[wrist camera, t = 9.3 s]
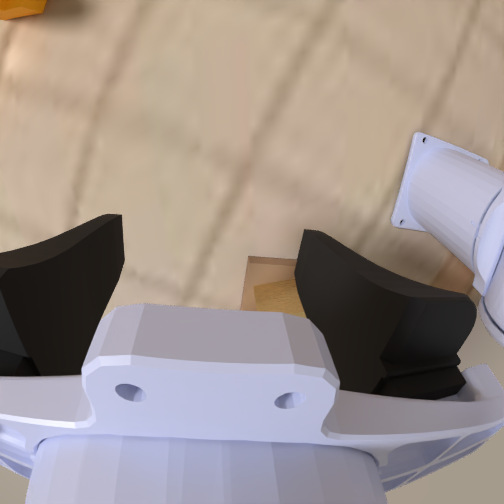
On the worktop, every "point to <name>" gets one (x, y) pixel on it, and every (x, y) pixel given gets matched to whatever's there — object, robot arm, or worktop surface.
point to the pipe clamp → (20, 8)
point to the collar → (279, 297)
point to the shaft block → (264, 276)
